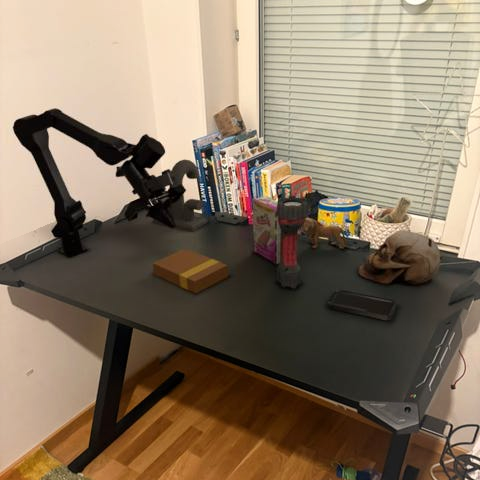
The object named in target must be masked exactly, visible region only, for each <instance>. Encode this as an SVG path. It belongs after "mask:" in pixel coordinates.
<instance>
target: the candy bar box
mask: <svg viewBox="0 0 480 480" xmlns="http://www.w3.org/2000/svg"><path fill="white" fill-rule="evenodd" d="M251 202H252V203H251V204H252V205H251V207H252V208H251V209H252V234H253V235H252V240H253V242H252V243H253V253H255V254H257V255H259V256H260V257H262V258H264V259H266V260H267V261H269V262H271V263H273V264H275V265H279V264H280V236H281V229H280V227H279V224H278V216H277V202H278V200H275V198H272V197H269V196H267V195H263V196H259V197H255V198H252V199H251Z"/></svg>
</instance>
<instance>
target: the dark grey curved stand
mask: <svg viewBox="0 0 480 480" xmlns="http://www.w3.org/2000/svg"><path fill="white" fill-rule="evenodd" d="M170 170H171V172H172V173H173V174H174V177H175V180H174V181H172V183H173V185H176V184H182V185H183V181H184V177H185V175H186V178H187V179H189V180H196V179H199V178H200V172H199V168H198V166H197V165H196V164H195V162H193V161H192V160H191V159H181V160H179V161H177V162H176V163H175V164H174V165H173V166H172V168H171V169H170ZM173 185H169V186H168V187H169V188H170V187H171V186H173ZM183 186H184V185H183ZM169 188H168V189H169ZM166 192H167V190H165V191H164V192H163V194H165V193H166ZM203 207H204V203H203V201H202V200H201V199H195V198H190V199H187V200H185V193H184V194H183V195H182V196H181V198H180V199H179V200H178V201H177V202H175V203H173V204H171V210H172V214H173V217H174V221H175V224H176V227H175V229H181V230H184V231H190V232H194V231H196V230H197V229H198V230H199V228H201V227H203V226H205V225H207V224H208V219H207V218H204V217H200V216H196V215H195V211H201V210H202V209H203ZM152 223H153V224H158V225H163V226H166V225H165V224H163V223H161V222H159V221H157V220H155V219H153V218H152Z"/></svg>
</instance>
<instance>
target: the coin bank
mask: <svg viewBox="0 0 480 480" xmlns="http://www.w3.org/2000/svg"><path fill="white" fill-rule="evenodd" d="M440 267H441V251H440V248H439V247H438V244H437V243H436V242H435V241H434V240H433V239H432V238H431V237H429V236H427V235H425V234H422V233H418V232H415V231H411V230H405V229H400V230H397V231H395V232H393V233H392V234H389V236H387V237H386V239H385V240H384V241H383V243H382V244H379V248H378V249H377V250H376V251H375V252H373V253H371V254H370V255H369V256H368V257H367V258H366V260H365V263H364V264H362V265H360V266H359V268H358V274H359V275H360V276H361V277H362V278H365V279H367V280H370V281H373V282H374V283H375V282H376V283H379V284H381V285H383V286H384V285H385V286H386V285H390V283H392V282H393V281H397V282H406V283H408V284H410V285H412V286H414V285H415V286H416V285H419V284H423V283H426V282H428V281H430V280H431V279H432V278H434V277H435V276H436V275H437V274H438V272H439V269H440Z"/></svg>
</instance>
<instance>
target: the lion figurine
mask: <svg viewBox="0 0 480 480" xmlns="http://www.w3.org/2000/svg"><path fill="white" fill-rule="evenodd" d="M300 231H301V232H302V233H303V234H305V235H306V237H307V238H311V239H312V241H311V242H310V245H312V248H313V249H317V248H318V244H319V242H318V241H319V239H320V238H322V239H323V238H324V239H326V238H330V237H331V236H332V237H333V239H334V241H332V242H331V243H330V245H336V244H337V243H338V244H340V245H339V250H344V249H345V245H347V246H349V245H350V243H349V242H347V241H346V235H345V232H344V229H343V228H342V227H341V226H339V225H337V224H332V225H324V224H322V222H320V221H318V220H315V218H311V217H306V219H305V222H304V224H303V225H302V227H301V228H300ZM341 235H342V236H341Z"/></svg>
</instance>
